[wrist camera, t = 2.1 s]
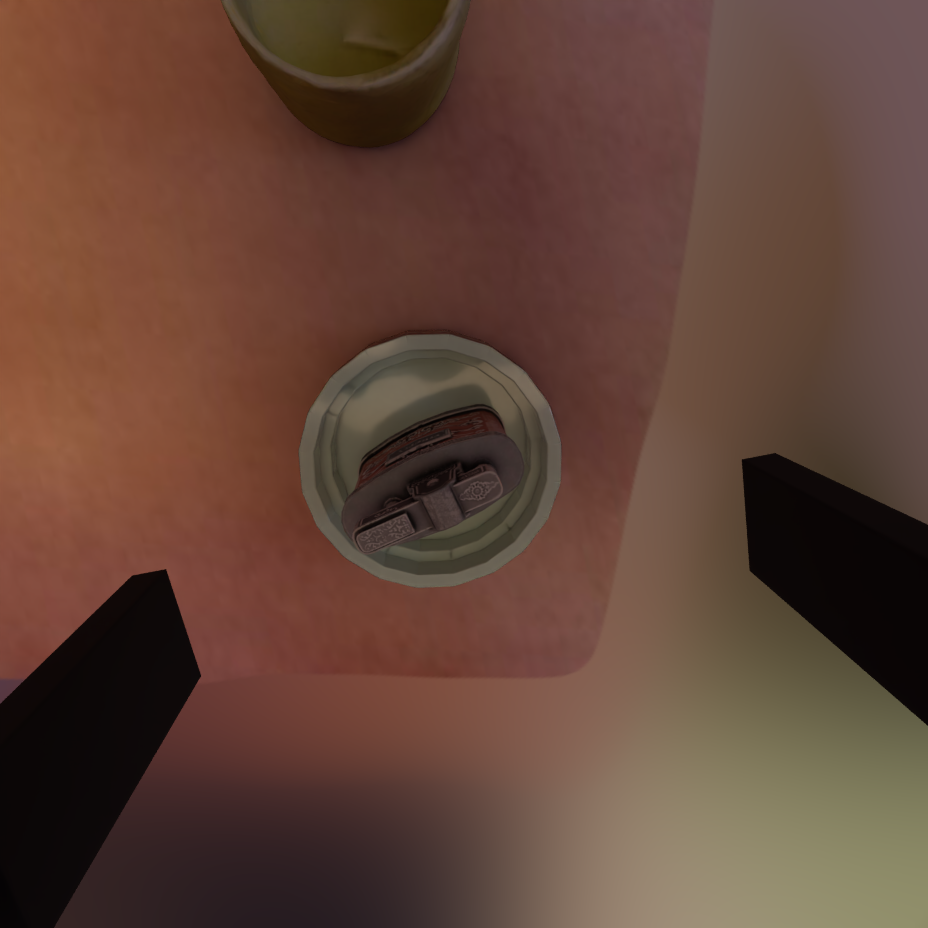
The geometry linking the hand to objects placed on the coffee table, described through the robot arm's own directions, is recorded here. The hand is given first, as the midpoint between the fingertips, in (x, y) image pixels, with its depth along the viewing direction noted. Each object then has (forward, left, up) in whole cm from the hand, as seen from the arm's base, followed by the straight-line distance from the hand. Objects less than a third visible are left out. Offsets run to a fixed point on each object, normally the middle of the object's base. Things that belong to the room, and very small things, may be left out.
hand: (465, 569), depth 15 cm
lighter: (+1, +2, -20) cm, 20 cm away
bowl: (+1, +2, -20) cm, 21 cm away
